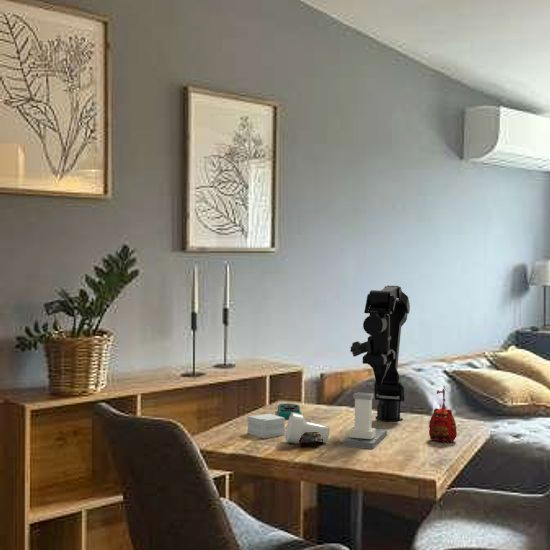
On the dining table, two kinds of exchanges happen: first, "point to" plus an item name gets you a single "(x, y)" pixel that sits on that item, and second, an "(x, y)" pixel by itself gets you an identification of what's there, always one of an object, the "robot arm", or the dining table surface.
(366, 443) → the fader console
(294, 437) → the spotlight
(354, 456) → the dining table surface
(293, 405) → the digital multimeter
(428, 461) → the dining table surface
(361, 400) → the fader tab
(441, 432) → the red clay folk toy
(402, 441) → the dining table surface
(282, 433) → the small box
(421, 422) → the dining table surface
